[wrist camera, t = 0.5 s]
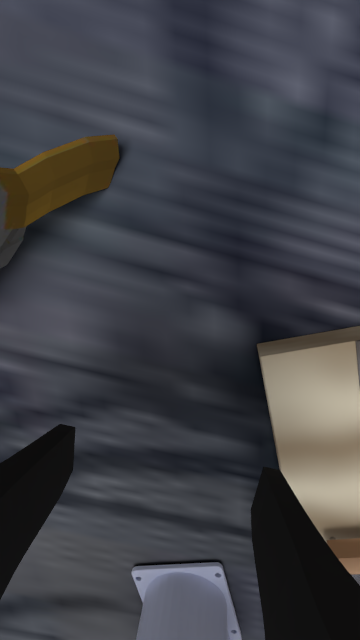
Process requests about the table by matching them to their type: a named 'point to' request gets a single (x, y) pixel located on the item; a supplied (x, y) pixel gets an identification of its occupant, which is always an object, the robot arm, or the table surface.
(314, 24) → the table surface
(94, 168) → the gun
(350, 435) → the board
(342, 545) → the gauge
